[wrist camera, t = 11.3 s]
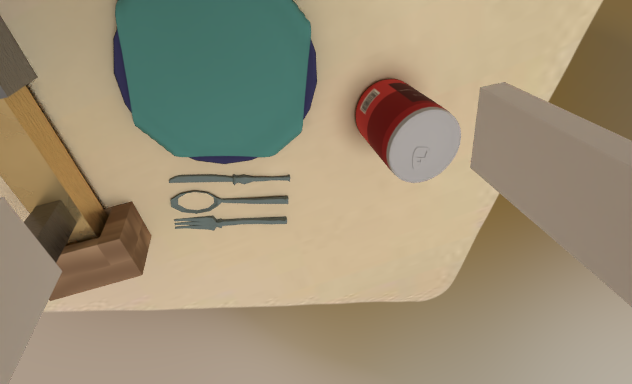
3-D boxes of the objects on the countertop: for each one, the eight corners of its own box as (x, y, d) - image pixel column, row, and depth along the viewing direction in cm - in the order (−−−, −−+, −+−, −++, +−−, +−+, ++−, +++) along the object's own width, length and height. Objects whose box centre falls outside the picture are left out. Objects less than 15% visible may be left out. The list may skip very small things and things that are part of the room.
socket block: (45, 224, 43) (19, 265, 37) (132, 201, 44) (119, 238, 38) (71, 257, 46) (50, 300, 40) (151, 235, 47) (142, 275, 41)
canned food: (354, 145, 46) (388, 190, 37) (352, 82, 42) (389, 117, 33) (410, 133, 47) (456, 175, 38) (414, 71, 43) (467, 102, 34)
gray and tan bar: (-58, 47, 31) (-220, 100, 19) (-5, 36, 31) (-133, 82, 20) (79, 237, 44) (30, 339, 32) (116, 227, 44) (80, 325, 32)
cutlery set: (323, -26, 36) (329, -24, 34) (298, 220, 52) (301, 230, 50) (97, -53, 31) (89, -53, 29) (146, 226, 47) (143, 238, 45)
